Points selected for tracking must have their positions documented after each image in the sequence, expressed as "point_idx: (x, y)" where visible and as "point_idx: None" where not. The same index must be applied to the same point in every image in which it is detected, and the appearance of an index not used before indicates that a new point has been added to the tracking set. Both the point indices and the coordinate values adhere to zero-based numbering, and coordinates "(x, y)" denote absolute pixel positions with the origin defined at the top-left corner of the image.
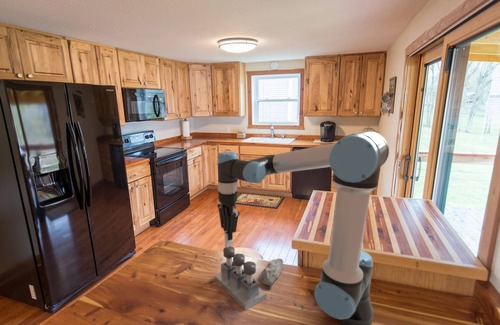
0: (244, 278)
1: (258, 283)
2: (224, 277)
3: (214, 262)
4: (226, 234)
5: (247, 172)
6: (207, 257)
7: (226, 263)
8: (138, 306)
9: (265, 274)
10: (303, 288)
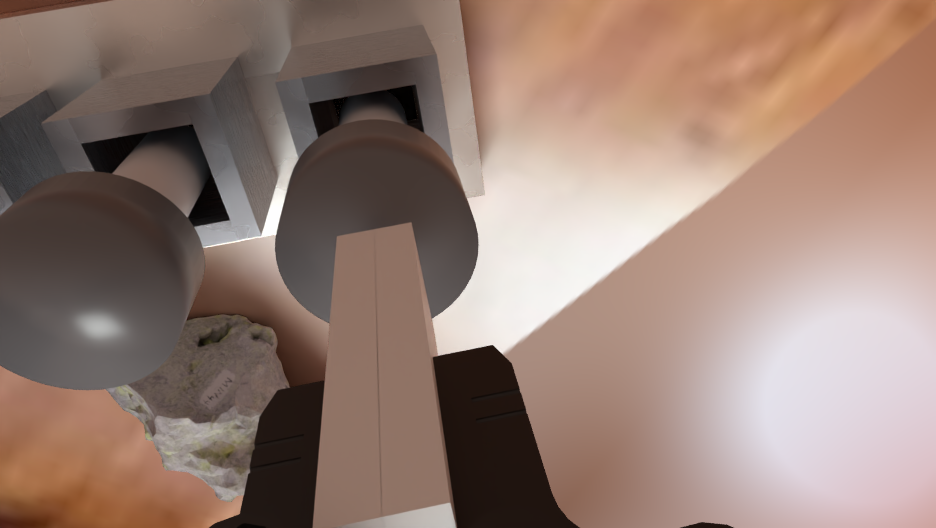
0: None
1: None
2: (356, 36)
3: (702, 58)
4: (328, 475)
5: None
6: (825, 24)
7: (376, 117)
8: None
9: (170, 385)
10: (60, 502)
